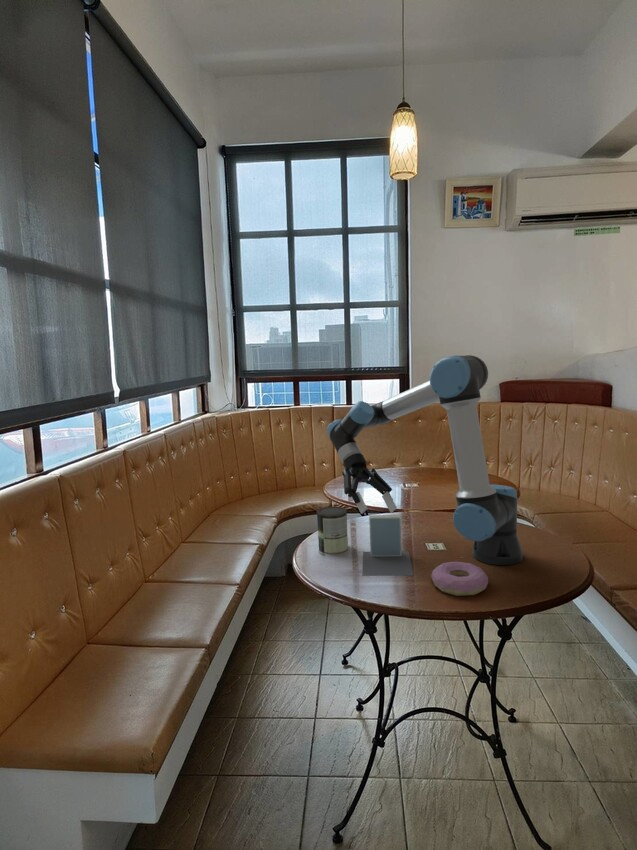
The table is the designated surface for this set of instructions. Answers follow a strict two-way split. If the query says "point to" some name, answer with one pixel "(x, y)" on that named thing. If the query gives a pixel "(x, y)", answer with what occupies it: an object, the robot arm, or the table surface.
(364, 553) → the mat
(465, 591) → the donut
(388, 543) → the tile
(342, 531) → the coffee can
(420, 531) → the table surface
